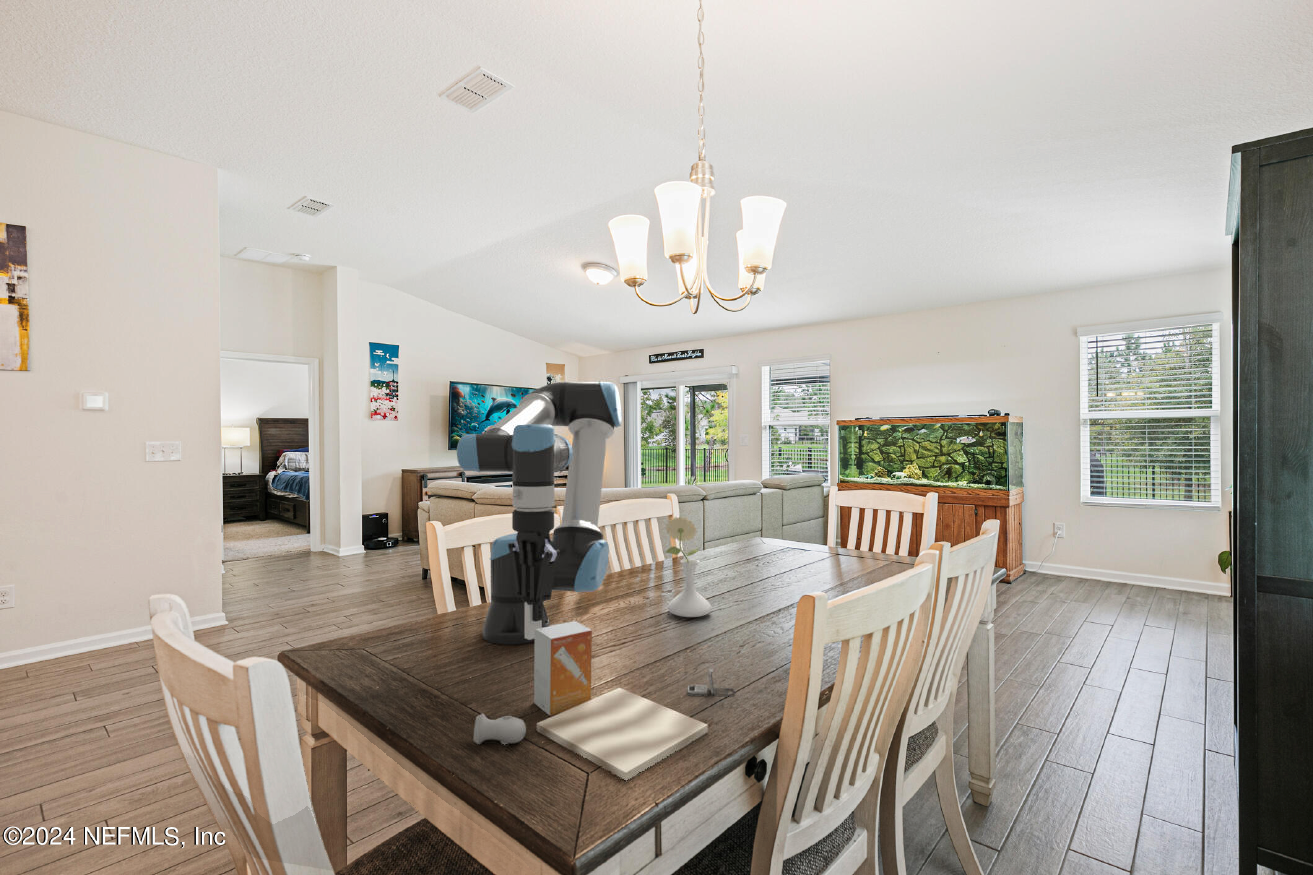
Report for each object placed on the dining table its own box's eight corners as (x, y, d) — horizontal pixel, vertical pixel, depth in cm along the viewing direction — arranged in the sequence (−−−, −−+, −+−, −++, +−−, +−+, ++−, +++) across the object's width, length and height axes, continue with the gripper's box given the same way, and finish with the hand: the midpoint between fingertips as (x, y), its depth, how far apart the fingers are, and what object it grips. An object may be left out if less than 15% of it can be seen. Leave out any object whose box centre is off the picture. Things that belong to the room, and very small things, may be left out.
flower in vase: (719, 612, 157) (719, 516, 156) (698, 624, 147) (698, 522, 147) (676, 604, 164) (676, 512, 163) (653, 615, 154) (654, 518, 154)
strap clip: (687, 696, 107) (687, 673, 107) (687, 689, 110) (687, 666, 110) (735, 698, 107) (735, 674, 107) (733, 690, 110) (734, 667, 110)
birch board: (536, 730, 94) (536, 723, 94) (619, 694, 108) (619, 687, 108) (626, 781, 81) (626, 772, 81) (707, 732, 94) (707, 724, 94)
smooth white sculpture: (529, 743, 93) (519, 749, 88) (478, 739, 94) (466, 745, 89) (532, 713, 94) (522, 717, 90) (482, 709, 95) (470, 714, 90)
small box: (549, 717, 99) (550, 638, 99) (533, 703, 104) (533, 628, 104) (592, 704, 104) (592, 629, 104) (574, 691, 109) (574, 619, 109)
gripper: (495, 507, 111) (495, 633, 112) (538, 513, 103) (537, 651, 103) (529, 503, 117) (529, 624, 117) (572, 509, 108) (571, 640, 108)
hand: (533, 636), depth 110 cm, fingers closed
